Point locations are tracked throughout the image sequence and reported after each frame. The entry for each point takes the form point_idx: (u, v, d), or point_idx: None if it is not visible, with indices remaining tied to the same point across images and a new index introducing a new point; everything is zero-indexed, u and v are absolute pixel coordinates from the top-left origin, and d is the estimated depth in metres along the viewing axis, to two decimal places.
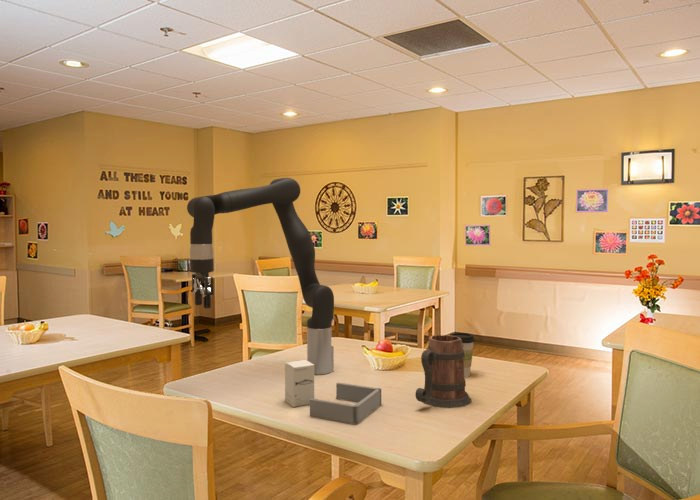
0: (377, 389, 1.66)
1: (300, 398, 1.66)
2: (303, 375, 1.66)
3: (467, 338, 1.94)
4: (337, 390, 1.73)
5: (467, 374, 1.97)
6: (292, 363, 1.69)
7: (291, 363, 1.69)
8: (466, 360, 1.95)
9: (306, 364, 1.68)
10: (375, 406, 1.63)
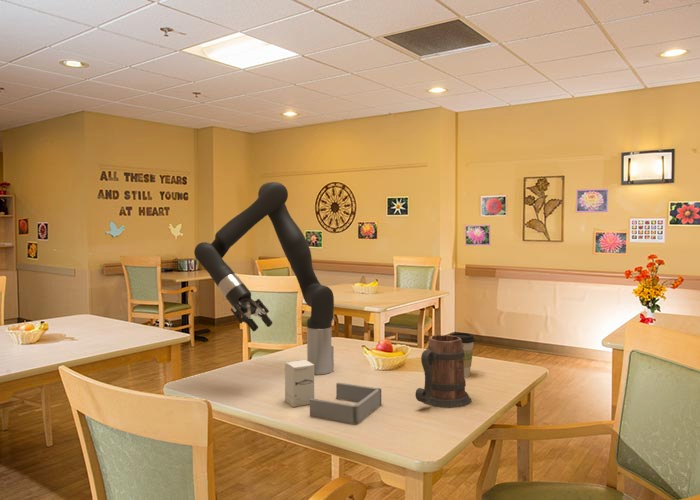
0: (377, 389, 1.66)
1: (300, 398, 1.66)
2: (303, 375, 1.66)
3: (467, 338, 1.94)
4: (337, 390, 1.73)
5: (467, 374, 1.97)
6: (292, 363, 1.69)
7: (291, 363, 1.69)
8: (466, 360, 1.95)
9: (306, 364, 1.68)
10: (375, 406, 1.63)
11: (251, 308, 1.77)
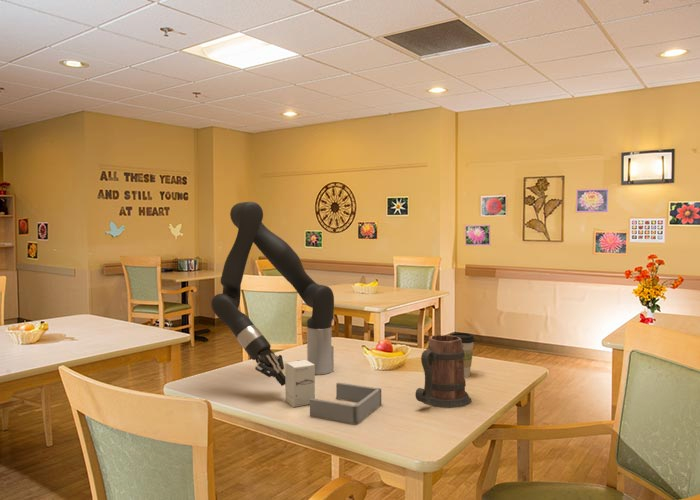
0: (377, 389, 1.66)
1: (301, 398, 1.66)
2: (303, 375, 1.66)
3: (467, 338, 1.94)
4: (337, 390, 1.73)
5: (467, 374, 1.97)
6: (292, 363, 1.68)
7: (291, 363, 1.68)
8: (466, 360, 1.95)
9: (306, 364, 1.67)
10: (375, 406, 1.63)
11: None
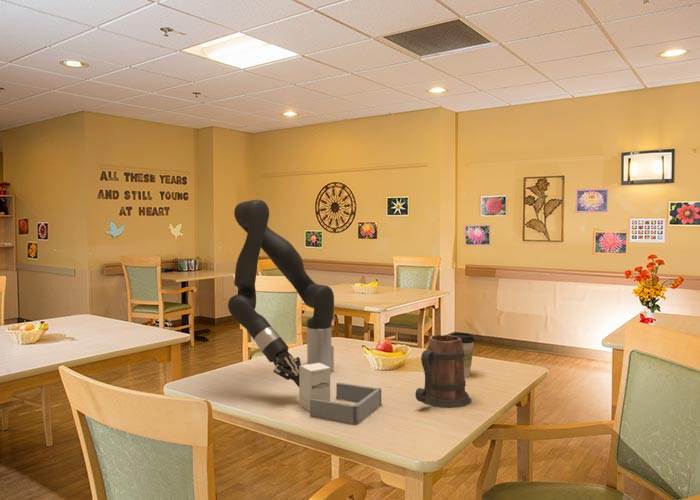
0: (377, 389, 1.66)
1: None
2: (319, 378, 1.62)
3: (467, 338, 1.94)
4: (337, 390, 1.73)
5: (467, 374, 1.97)
6: (307, 366, 1.65)
7: (306, 366, 1.65)
8: (466, 360, 1.95)
9: (322, 367, 1.64)
10: (375, 406, 1.63)
11: None
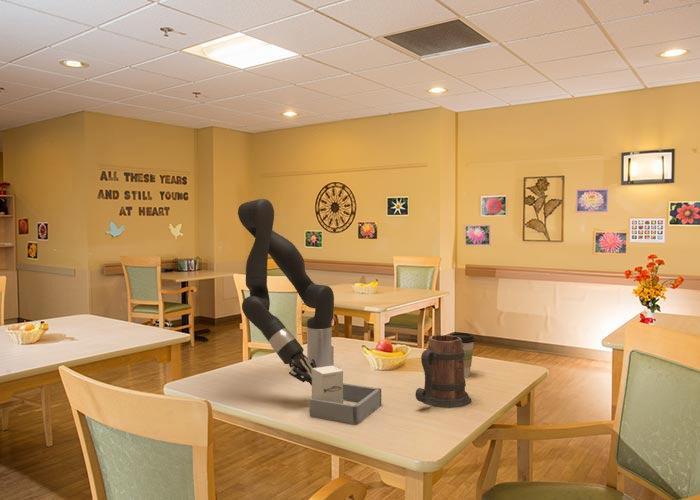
0: (377, 389, 1.66)
1: None
2: (331, 382, 1.59)
3: (467, 338, 1.94)
4: None
5: (467, 374, 1.97)
6: (320, 369, 1.62)
7: (318, 369, 1.62)
8: (466, 360, 1.95)
9: (334, 370, 1.61)
10: (375, 406, 1.63)
11: None
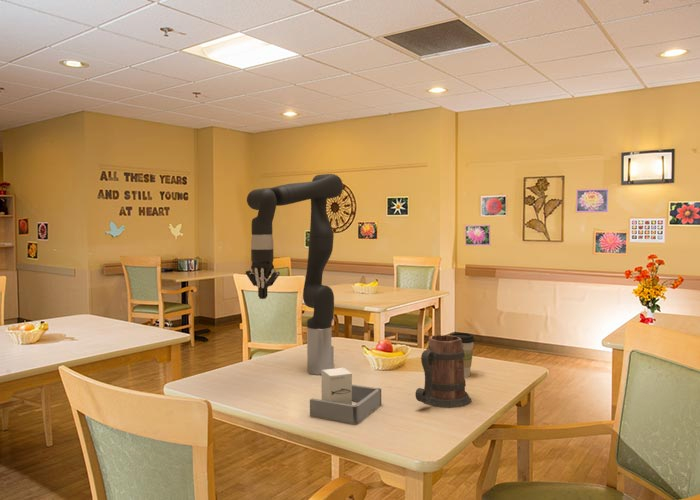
0: (377, 389, 1.66)
1: None
2: (339, 384, 1.57)
3: (467, 338, 1.94)
4: None
5: (467, 374, 1.97)
6: (329, 371, 1.60)
7: (328, 371, 1.60)
8: (466, 360, 1.95)
9: (343, 372, 1.58)
10: (375, 406, 1.63)
11: None
